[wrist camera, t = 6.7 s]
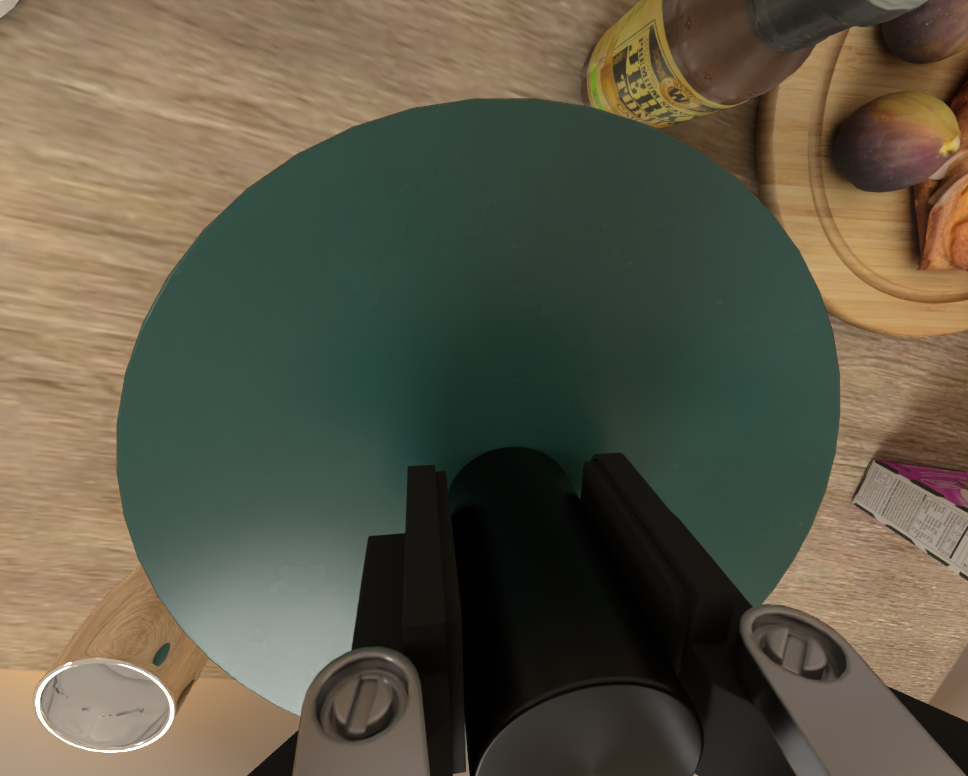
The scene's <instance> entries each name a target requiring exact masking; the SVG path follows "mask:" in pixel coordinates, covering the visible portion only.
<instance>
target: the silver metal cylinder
mask: <svg viewBox="0 0 968 776" xmlns="http://www.w3.org/2000/svg"><path fill="white" fill-rule="evenodd" d="M208 659H209V658H208V657H207V656H206V655H205V654H204V653H203V652H202V650H201V649H200V648H199V647H198V646H197V645H196V644H195V643H194V642H193V641H192V640H191V639H190V638H189V637H188V636H187V635H186V634H185V633H184V632H183V631H182V629H181V628H180V627H179V625H178V624H177V623H176V621H175V620H174V618H173V617H172V616H171V614H170V613H169V611H168V610H167V609H166V607H165V606H164V604H163V603H162V602H161V600H160V599H159V597H158V596H157V594H156V592H155V590H154V588H153V586H152V585H151V583H150V581H149V579H148V577H147V575H146V573H145V571H144V569H143V567H142V565H140V566H138V567H137V568H136V569H135V570H134V571H132V572H131V573H130V574H129V575H128V576H127V577H125V578H124V579H123V580H122V581H121V582H120V583H119V584H118V585H117V586H116V587H115V588H114V589H112V590H111V591H110V592H109V593H108V594H107V595H106V596H105V597H104V599H103V600H102V601H101V602H100V603H99V604H98V605H97V606H96V607H95V609H94V610H93V611H92V612H91V613H90V614H89V616H88V617H87V618H86V619H85V621H84V622H83V623H82V624H81V626H80V627H79V628H78V630H77V631H76V632H75V633H74V635H73V636H72V638H71V639H70V640H69V642H68V643H67V645H66V646H65V647H64V649H63V650H62V652H61V653H60V655H59V656H58V657H57V659H56V660H55V662H54V663H53V665H52V666H51V668H50V669H49V670H48V672H47V673H46V675H45V676H44V677H43V678H42V679H41V680H40V681H39V683H38V685H37V687H36V688H35V691H34V695H33V708H34V711H35V714H36V716H37V718H38V720H39V722H40V723H41V724H42V726H43V727H44V728H45V729H46V730H47V731H48V732H49V733H51V734H52V735H53V736H55V737H56V738H58V739H59V740H61V741H63V742H65V743H67V744H69V745H72V746H74V747H77V748H81V749H84V750H89V751H94V752H104V753H117V752H126V751H131V750H136V749H139V748H142V747H145V746H147V745H149V744H151V743H152V742H154V741H156V740H158V739H159V738H160V737H162V736H163V735H164V734H165V733H166V732H167V730H168V729H169V728H170V726H171V724H172V723H173V720H174V718H175V716H176V715H177V713H178V711H179V709H180V707H181V706H182V705H183V703H184V701H185V700H186V698H187V696H188V695H189V693H190V691H191V690H192V688H193V686H194V684H195V683H196V681H197V679H198V678H199V676H200V674H201V672H202V670H203V668H204V666H205V664H206V662H207V661H208Z"/></svg>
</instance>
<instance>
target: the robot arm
mask: <svg viewBox="0 0 968 776" xmlns="http://www.w3.org/2000/svg"><path fill="white" fill-rule="evenodd" d="M18 1H19V0H0V18H1V17H2V16H4V15H5V14H6V13H8V12H9V11H10V10H11V9H13V8H14V7H15V5H16V4H17V3H18ZM581 502H582V504H583V506H584V508H585V509H586V511H587V513H588V515H589V517H590V519H591V520H592V522H593V524H594V526H595V528H596V529H597V531H598V533H599V535H600V537H601V538H602V540H603V542H604V544H605V546H606V547H607V549H608V551H609V553H610V555H611V556H612V558H613V560H614V562H615V564H616V565H617V567H618V569H619V571H620V573H621V574H622V576H623V578H624V580H625V582H626V583H627V585H628V587H629V589H630V591H631V592H632V594H633V596H634V598H635V600H636V601H637V603H638V605H639V607H640V609H641V610H642V612H643V614H644V616H645V618H646V620H647V621H648V623H649V625H650V627H651V629H652V630H653V632H654V634H655V636H656V638H657V639H658V641H659V643H660V645H661V647H662V648H663V650H664V652H665V654H666V656H667V657H668V659H669V661H670V663H671V665H672V666H673V668H674V670H675V672H676V674H677V675H678V677H679V679H680V681H681V683H682V684H683V686H684V688H685V690H686V692H687V693H688V695H689V697H690V699H691V701H692V702H693V704H694V706H695V708H696V710H697V711H698V714H699V716H700V719H701V721H702V726H703V732H704V748H703V753H702V757H701V760H700V762H699V765H698V767H697V769H696V771H695V774H697V775H698V776H968V722H966V721H964V720H962V719H960V718H958V717H955V716H953V715H951V714H949V713H946V712H944V711H942V710H940V709H937V708H935V707H933V706H931V705H928V704H926V703H924V702H922V701H919V700H917V699H915V698H913V697H910V696H908V695H906V694H904V693H901V692H899V691H897V690H895V689H892V688H890V687H888V686H886V685H885V683H884V682H883V681H882V680H881V679H880V678H879V677H878V676H877V674H876V673H875V672H874V671H873V670H872V669H871V668H870V667H869V665H868V664H867V663H866V662H865V661H864V660H863V659H862V658H861V656H860V655H859V654H858V653H857V652H856V651H855V650H854V648H853V647H852V646H851V645H850V644H849V643H848V642H847V641H846V640H845V639H844V638H843V637H842V636H841V635H840V634H839V633H838V632H836V631H835V630H834V629H833V628H832V627H830V626H828V625H827V624H825V623H824V622H822V621H821V620H819V619H818V618H816V617H814V616H811V615H809V614H807V613H805V612H803V611H800V610H797V609H794V608H790V607H786V606H783V605H771V604H765V605H759V606H754V607H753V606H752V605H751V604H750V603H749V602H748V600H747V599H746V598H745V597H744V596H743V594H742V593H741V592H740V591H739V590H738V588H737V587H736V586H735V585H734V584H733V582H732V581H731V580H730V579H729V578H728V576H727V575H726V574H725V573H724V572H723V570H722V569H721V568H720V567H719V566H718V564H717V563H716V562H715V561H714V560H713V558H712V557H711V556H710V555H709V554H708V552H707V551H706V550H705V549H704V548H703V547H702V545H701V544H700V543H699V542H698V541H697V539H696V538H695V537H694V536H693V535H692V533H691V532H690V531H689V530H688V529H687V527H686V526H685V525H684V524H683V523H682V521H681V520H680V519H679V518H678V517H677V516H676V515H675V514H674V513H672V512H671V511H670V510H669V508H668V507H667V506H666V505H665V504H664V502H663V501H662V500H661V499H660V497H659V496H658V495H657V494H656V493H655V491H654V490H653V489H652V488H651V487H650V485H649V484H648V483H647V482H646V481H645V479H644V478H643V477H642V476H641V475H640V473H639V472H638V471H637V470H636V469H635V467H634V466H633V465H632V464H631V462H630V461H629V460H628V459H627V458H626V456H625V455H624V454H623V453H604V454H594V455H593V457H592V459H591V461H587V462H585V463H584V465H583V474H582V487H581ZM463 772H466V758H465V719H464V670H463V631H462V615H461V603H460V594H459V585H458V575H457V566H456V557H455V548H454V539H453V530H452V521H451V512H450V502H449V493H448V484H447V475H446V471H437V472H435V464H434V465H419V466H408V471H407V499H406V527H405V533H400V534H387V535H375V536H369V537H368V541H367V547H366V554H365V560H364V567H363V574H362V581H361V587H360V594H359V601H358V608H357V614H356V621H355V628H354V635H353V641H352V648H351V651H349V652H346V653H344V654H343V655H341V656H339V657H337V658H336V659H334V660H332V661H331V662H330V663H328V664H327V665H326V666H325V667H324V668H323V669H322V670H321V671H320V672H319V673H318V674H317V675H316V677H315V678H314V680H313V681H312V683H311V684H310V686H309V687H308V689H307V692H306V695H305V698H304V701H303V705H302V710H301V717H300V724H299V730H298V731H297V732H296V733H295V734H294V735H292V736H291V737H290V738H289V739H288V740H287V741H286V742H285V743H283V744H282V745H281V746H280V747H279V748H278V749H277V750H276V751H274V752H273V753H272V754H271V755H270V756H269V757H268V758H267V759H265V761H263V762H262V763H261V764H260V765H259V766H258V767H256V768H255V769H254V770H253V771H252V772H251V773H250V774H249V775H247V776H453V774H456V773H463Z"/></svg>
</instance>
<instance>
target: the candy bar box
mask: <svg viewBox="0 0 968 776" xmlns="http://www.w3.org/2000/svg"><path fill="white" fill-rule="evenodd" d="M852 504H854V505H855V506H857V507H858V508H860V509H861V510H863V511H864V512H866V513H867V514H869V515H870V516H872V517H873V518H875V519H876V520H878V521H879V522H881V523H882V524H884V525H885V526H887V527H888V528H890V529H891V530H893V531H894V532H895V533H897V534H898V535H900V536H902V537H903V538H904V539H906V540H908V541H909V542H911V543H912V544H914V545H915V546H917V547H918V548H920V549H921V550H922V551H924V552H925V553H927V554H928V555H930V556H931V557H933V558H934V559H936V560H938V561H939V562H940V563H942V564H943V565H945V566H946V567H948V568H949V569H951V570H952V571H954V572H955V573H957V574H958V575H960V576H961V577H963V578H964V579H966V580H967V581H968V472H964V471H956V470H949V469H940V468H932V467H926V466H918V465H910V464H903V463H896V462H888V461H881V460H875V459H874V460H872V462H871V463H870V465H869V467H868V468H867V470H866V473H865V475H864V478H863V480H862V482H861V484H860V486H859V488H858V490H857V492H856V494H855V496H854V498H853V501H852Z"/></svg>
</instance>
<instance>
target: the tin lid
mask: <svg viewBox="0 0 968 776" xmlns="http://www.w3.org/2000/svg"><path fill="white" fill-rule="evenodd" d="M839 420H840V372H839V366H838V360H837V353H836V347H835V341H834V335H833V330H832V327H831V324H830V321H829V318H828V315H827V312H826V309H825V305H824V302H823V299H822V296H821V293H820V290H819V288H818V286H817V284H816V282H815V280H814V278H813V276H812V274H811V272H810V270H809V268H808V266H807V264H806V262H805V260H804V258H803V256H802V255H801V253H800V251H799V250H798V248H797V247H796V245H795V244H794V243H793V241H792V240H791V238H790V237H789V236H788V234H787V233H786V231H785V230H784V229H783V227H782V226H781V225H780V223H779V222H778V220H777V219H776V218H775V216H774V215H773V214H772V213H771V212H770V211H769V210H768V209H767V208H766V207H765V206H764V205H763V204H762V203H761V202H760V201H759V200H758V199H757V198H756V197H755V196H754V195H753V194H752V193H751V192H750V191H749V190H748V189H747V188H746V187H745V186H744V185H743V184H742V183H741V182H740V181H739V180H738V179H737V178H736V177H735V176H733V175H732V174H730V173H729V172H728V171H726V170H725V169H723V168H722V167H721V166H719V165H718V164H717V163H715V162H714V161H712V160H711V159H710V158H708V157H707V156H705V155H704V154H703V153H701V152H700V151H698V150H697V149H696V148H694V147H692V146H690V145H688V144H686V143H684V142H682V141H680V140H678V139H676V138H674V137H672V136H670V135H668V134H666V133H664V132H662V131H660V130H658V129H656V128H654V127H652V126H650V125H648V124H645V123H642V122H638V121H635V120H632V119H629V118H626V117H623V116H619V115H616V114H613V113H610V112H607V111H604V110H600V109H597V108H594V107H588V106H582V105H575V104H568V103H562V102H555V101H549V100H542V99H535V98H508V99H468V100H462V101H455V102H449V103H442V104H436V105H429V106H423V107H416V108H411V109H408V110H405V111H402V112H399V113H395V114H392V115H389V116H386V117H383V118H379V119H376V120H373V121H370V122H367V123H363V124H360V125H357V126H354V127H351V128H349V129H347V130H345V131H343V132H341V133H339V134H337V135H335V136H333V137H331V138H329V139H327V140H325V141H323V142H321V143H319V144H317V145H314V146H312V147H310V148H308V149H306V150H304V151H302V152H300V153H298V154H296V155H295V156H293V157H292V158H290V159H289V160H288V161H286V162H285V163H283V164H282V165H280V166H279V167H277V168H276V169H275V170H273V171H272V172H270V173H269V174H267V175H266V176H264V177H263V178H262V179H260V180H259V181H257V182H256V183H254V184H253V185H251V186H250V187H249V188H247V189H246V190H245V191H244V192H243V193H242V194H241V195H240V196H238V197H237V198H236V199H235V200H234V201H233V202H232V203H231V204H230V205H229V206H228V207H227V208H226V209H225V210H224V211H223V212H222V213H221V214H220V215H218V216H217V217H216V218H215V219H214V220H213V221H212V222H211V223H210V224H209V225H208V226H207V227H206V228H205V229H204V230H203V231H202V232H201V233H200V235H199V236H198V237H197V239H196V240H195V241H194V243H193V244H192V245H191V247H190V248H189V249H188V250H187V252H186V253H185V254H184V256H183V257H182V258H181V260H180V261H179V262H178V263H177V265H176V266H175V267H174V269H173V270H172V271H171V273H170V274H169V275H168V277H167V279H166V281H165V282H164V284H163V286H162V288H161V290H160V292H159V294H158V295H157V297H156V299H155V301H154V303H153V305H152V307H151V308H150V310H149V312H148V314H147V316H146V318H145V320H144V321H143V323H142V326H141V329H140V332H139V335H138V337H137V340H136V343H135V346H134V349H133V352H132V355H131V358H130V361H129V364H128V367H127V369H126V372H125V377H124V383H123V389H122V395H121V401H120V407H119V413H118V419H117V477H118V483H119V489H120V495H121V501H122V508H123V514H124V518H125V521H126V524H127V527H128V530H129V533H130V536H131V539H132V542H133V545H134V548H135V551H136V554H137V557H138V559H139V561H140V563H141V565H142V567H143V569H144V571H145V573H146V575H147V577H148V579H149V581H150V583H151V585H152V586H153V588H154V590H155V592H156V594H157V596H158V597H159V599H160V600H161V602H162V603H163V604H164V606H165V607H166V609H167V610H168V611H169V613H170V614H171V616H172V617H173V618H174V620H175V621H176V623H177V624H178V625H179V627H180V628H181V629H182V631H183V632H184V633H185V634H186V635H187V636H188V637H189V638H190V639H191V640H192V641H193V642H194V643H195V644H196V645H197V646H198V647H199V648H200V649H201V650H202V652H203V653H204V654H205V655H206V656H207V657H208V658H209V659H210V660H212V661H213V662H214V663H215V664H217V665H218V666H219V667H220V668H222V669H223V670H224V671H225V672H226V673H228V674H229V675H230V676H231V677H233V678H234V679H235V680H236V681H238V682H239V683H240V684H242V685H243V686H245V687H247V688H248V689H250V690H251V691H253V692H255V693H256V694H258V695H260V696H261V697H263V698H264V699H266V700H268V701H269V702H271V703H272V704H274V705H276V706H278V707H280V708H283V709H285V710H287V711H289V712H291V713H293V714H295V715H297V716H300V717H301V710H302V705H303V701H304V698H305V695H306V692H307V689H308V687H309V686H310V684H311V683H312V681H313V680H314V678H315V677H316V675H317V674H318V673H319V672H320V671H321V670H322V669H323V668H324V667H325V666H326V665H327V664H328V663H330V662H331V661H332V660H334V659H336V658H337V657H339V656H341V655H343V654H344V653H346V652H349V651H351V648H352V641H353V635H354V628H355V621H356V614H357V608H358V601H359V594H360V587H361V581H362V574H363V567H364V560H365V554H366V547H367V541H368V537H369V536H375V535H387V534H400V533H405V527H406V499H407V471H408V466H419V465H434V464H435V472H437V471H446V475H447V484H448V493H449V502H450V512H451V521H452V530H453V539H454V548H455V557H456V566H457V575H458V585H459V594H460V603H461V615H462V631H463V670H464V719H465V747H467V751H468V762H469V772H470V776H693V775H694V773H695V771H696V769H697V767H698V765H699V762H700V760H701V757H702V753H703V748H704V732H703V726H702V721H701V719H700V716H699V714H698V711H697V710H696V708H695V706H694V704H693V702H692V701H691V699H690V697H689V695H688V693H687V692H686V690H685V688H684V686H683V684H682V683H681V681H680V679H679V677H678V675H677V674H676V672H675V670H674V668H673V666H672V665H671V663H670V661H669V659H668V657H667V656H666V654H665V652H664V650H663V648H662V647H661V645H660V643H659V641H658V639H657V638H656V636H655V634H654V632H653V630H652V629H651V627H650V625H649V623H648V621H647V620H646V618H645V616H644V614H643V612H642V610H641V609H640V607H639V605H638V603H637V601H636V600H635V598H634V596H633V594H632V592H631V591H630V589H629V587H628V585H627V583H626V582H625V580H624V578H623V576H622V574H621V573H620V571H619V569H618V567H617V565H616V564H615V562H614V560H613V558H612V556H611V555H610V553H609V551H608V549H607V547H606V546H605V544H604V542H603V540H602V538H601V537H600V535H599V533H598V531H597V529H596V528H595V526H594V524H593V522H592V520H591V519H590V517H589V515H588V513H587V511H586V509H585V508H584V506H583V504H582V502H581V487H582V474H583V465H584V463H585V462H587V461H591V459H592V457H593V455H594V454H604V453H623V454H624V455H625V456H626V458H627V459H628V460H629V461H630V462H631V464H632V465H633V466H634V467H635V469H636V470H637V471H638V472H639V473H640V475H641V476H642V477H643V478H644V479H645V481H646V482H647V483H648V484H649V485H650V487H651V488H652V489H653V490H654V491H655V493H656V494H657V495H658V496H659V497H660V499H661V500H662V501H663V502H664V504H665V505H666V506H667V507H668V508H669V510H670V511H671V512H672V513H674V514H675V515H676V516H677V517H678V518H679V519H680V520H681V521H682V523H683V524H684V525H685V526H686V527H687V529H688V530H689V531H690V532H691V533H692V535H693V536H694V537H695V538H696V539H697V541H698V542H699V543H700V544H701V545H702V547H703V548H704V549H705V550H706V551H707V552H708V554H709V555H710V556H711V557H712V558H713V560H714V561H715V562H716V563H717V564H718V566H719V567H720V568H721V569H722V570H723V572H724V573H725V574H726V575H727V576H728V578H729V579H730V580H731V581H732V582H733V584H734V585H735V586H736V587H737V588H738V590H739V591H740V592H741V593H742V594H743V596H744V597H745V598H746V599H747V600H748V602H749V603H750V604H751V605H752V606H753V607H754V606H759V605H761V604H762V603H763V602H764V601H765V600H766V599H767V597H768V596H769V595H770V594H771V593H772V591H773V590H774V589H775V587H776V586H777V584H778V583H779V581H780V580H781V578H782V577H783V575H784V574H785V572H786V571H787V569H788V568H789V567H790V565H791V564H792V562H793V561H794V559H795V557H796V555H797V553H798V552H799V550H800V548H801V546H802V544H803V542H804V540H805V538H806V536H807V535H808V533H809V531H810V529H811V527H812V525H813V522H814V520H815V517H816V515H817V512H818V509H819V507H820V504H821V502H822V499H823V497H824V494H825V491H826V488H827V484H828V480H829V476H830V472H831V469H832V465H833V461H834V457H835V453H836V445H837V436H838V428H839Z"/></svg>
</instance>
